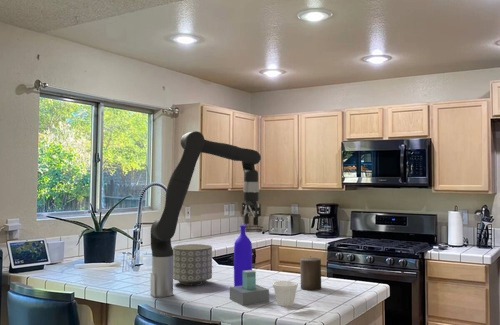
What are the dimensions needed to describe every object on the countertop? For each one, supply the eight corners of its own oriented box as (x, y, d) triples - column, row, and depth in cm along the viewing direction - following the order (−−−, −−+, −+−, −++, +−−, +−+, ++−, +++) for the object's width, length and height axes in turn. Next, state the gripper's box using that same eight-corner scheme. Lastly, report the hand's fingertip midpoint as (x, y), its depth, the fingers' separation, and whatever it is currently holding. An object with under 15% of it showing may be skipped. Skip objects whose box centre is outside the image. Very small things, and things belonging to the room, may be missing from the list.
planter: (191, 278, 246) (191, 243, 247) (219, 282, 235) (219, 245, 236) (164, 284, 231) (164, 247, 232) (193, 289, 220) (194, 250, 221)
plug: (247, 302, 193) (247, 272, 194) (242, 300, 197) (242, 270, 197) (255, 301, 195) (255, 271, 196) (251, 298, 199) (251, 269, 199)
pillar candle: (324, 290, 218) (323, 257, 219) (303, 291, 217) (303, 257, 218) (317, 285, 228) (317, 254, 229) (297, 286, 226) (297, 254, 227)
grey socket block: (242, 308, 188) (242, 292, 188) (229, 301, 198) (229, 287, 199) (269, 304, 193) (269, 289, 194) (254, 298, 204) (254, 284, 204)
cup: (269, 308, 187) (269, 284, 187) (277, 302, 196) (277, 279, 197) (294, 311, 184) (293, 286, 184) (300, 304, 193) (300, 281, 193)
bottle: (234, 289, 220) (234, 224, 221) (252, 289, 220) (252, 224, 221) (233, 293, 212) (233, 226, 213) (252, 293, 212) (251, 226, 213)
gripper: (237, 191, 237) (237, 223, 236) (252, 191, 225) (252, 226, 224) (250, 190, 241) (250, 223, 240) (265, 191, 229) (265, 225, 228)
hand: (251, 224), depth 232 cm, fingers open, 8 cm apart
